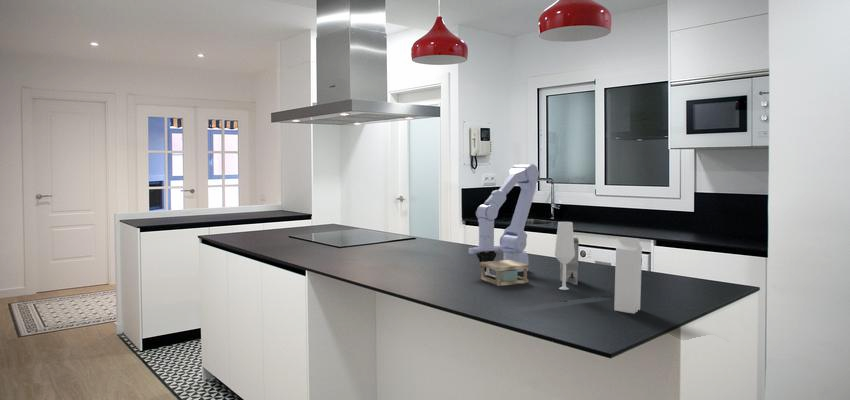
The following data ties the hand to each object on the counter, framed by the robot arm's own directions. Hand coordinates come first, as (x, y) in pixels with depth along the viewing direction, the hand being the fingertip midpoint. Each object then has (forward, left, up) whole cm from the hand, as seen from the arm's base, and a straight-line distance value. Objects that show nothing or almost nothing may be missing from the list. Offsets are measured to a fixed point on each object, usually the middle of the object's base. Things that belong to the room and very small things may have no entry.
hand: (486, 271), depth 219 cm
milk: (-14, +58, -3) cm, 60 cm away
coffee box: (-24, +19, -3) cm, 31 cm away
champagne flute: (-12, +31, -3) cm, 34 cm away
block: (0, +8, -1) cm, 8 cm away
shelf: (0, +8, -3) cm, 9 cm away
